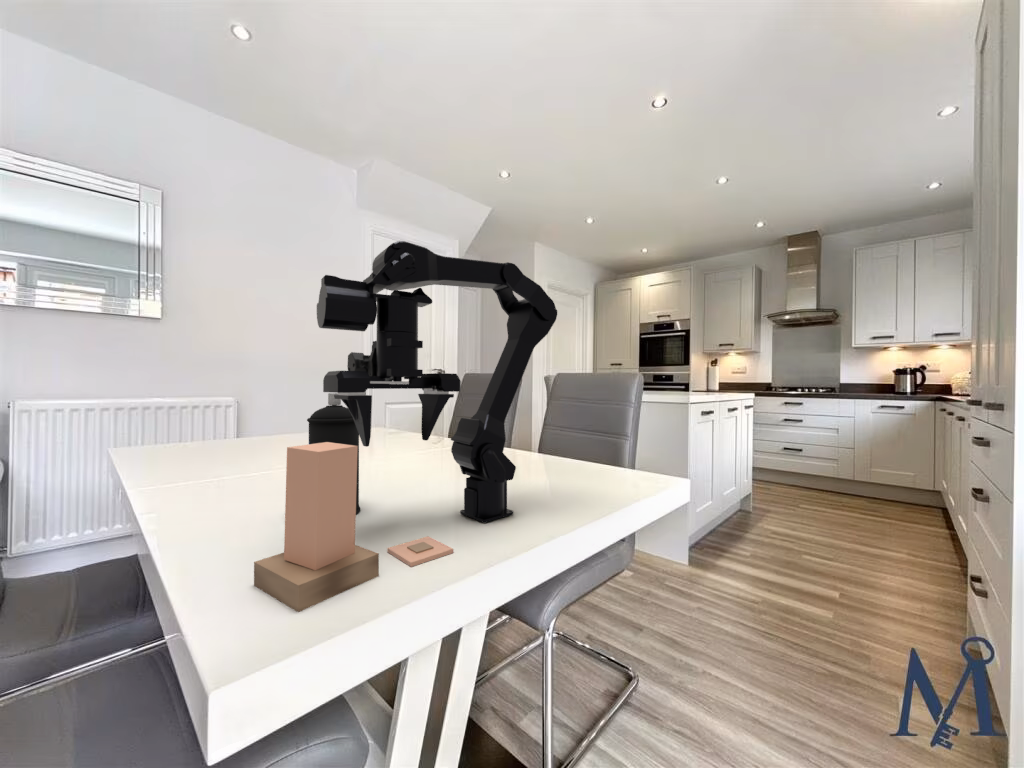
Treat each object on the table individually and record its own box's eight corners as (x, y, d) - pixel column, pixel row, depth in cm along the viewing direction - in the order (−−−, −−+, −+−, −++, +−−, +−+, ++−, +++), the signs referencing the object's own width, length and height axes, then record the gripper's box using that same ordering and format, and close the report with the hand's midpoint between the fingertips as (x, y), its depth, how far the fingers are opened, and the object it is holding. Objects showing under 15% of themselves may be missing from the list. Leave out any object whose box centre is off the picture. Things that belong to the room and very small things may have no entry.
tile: (428, 539, 57) (428, 534, 57) (453, 552, 52) (453, 547, 52) (387, 551, 53) (387, 546, 53) (411, 566, 48) (411, 560, 48)
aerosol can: (371, 510, 70) (371, 392, 70) (327, 524, 63) (328, 393, 63) (339, 503, 74) (339, 392, 74) (295, 516, 67) (296, 393, 67)
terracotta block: (324, 544, 48) (327, 442, 48) (354, 553, 46) (357, 445, 46) (283, 559, 44) (287, 447, 44) (315, 570, 42) (318, 451, 42)
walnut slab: (332, 560, 51) (332, 536, 51) (378, 580, 46) (378, 553, 46) (254, 590, 44) (254, 562, 44) (298, 617, 39) (298, 585, 39)
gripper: (424, 343, 71) (424, 433, 71) (309, 333, 59) (309, 443, 58) (462, 337, 63) (462, 439, 63) (339, 325, 50) (339, 452, 50)
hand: (397, 443), depth 59 cm, fingers open, 9 cm apart
